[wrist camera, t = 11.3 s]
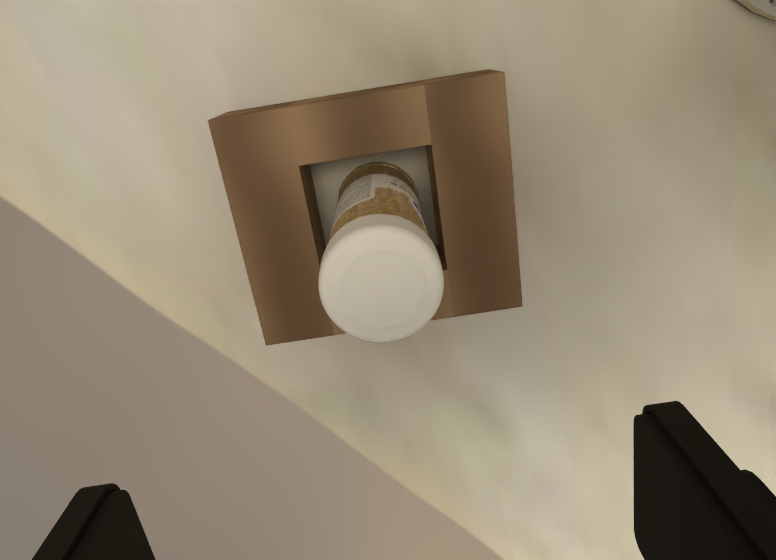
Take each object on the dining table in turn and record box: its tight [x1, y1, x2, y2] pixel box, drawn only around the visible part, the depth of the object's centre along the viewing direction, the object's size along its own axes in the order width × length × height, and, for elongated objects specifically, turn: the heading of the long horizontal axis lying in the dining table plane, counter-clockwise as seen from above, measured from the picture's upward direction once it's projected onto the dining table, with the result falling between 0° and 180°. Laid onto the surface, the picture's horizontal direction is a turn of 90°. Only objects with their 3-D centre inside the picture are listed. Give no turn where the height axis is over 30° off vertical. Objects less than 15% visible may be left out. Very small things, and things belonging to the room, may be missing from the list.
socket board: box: [208, 70, 522, 345], centre depth 31 cm, size 14×12×4 cm
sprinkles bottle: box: [318, 162, 444, 342], centre depth 27 cm, size 5×5×14 cm
